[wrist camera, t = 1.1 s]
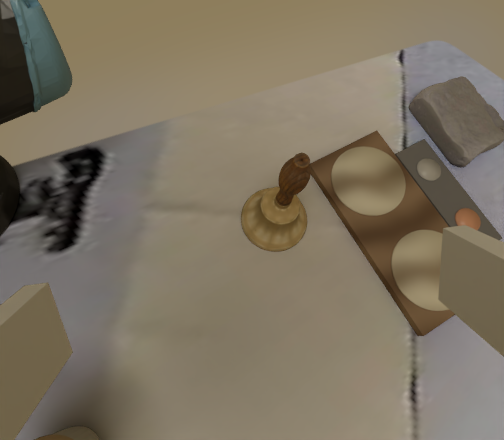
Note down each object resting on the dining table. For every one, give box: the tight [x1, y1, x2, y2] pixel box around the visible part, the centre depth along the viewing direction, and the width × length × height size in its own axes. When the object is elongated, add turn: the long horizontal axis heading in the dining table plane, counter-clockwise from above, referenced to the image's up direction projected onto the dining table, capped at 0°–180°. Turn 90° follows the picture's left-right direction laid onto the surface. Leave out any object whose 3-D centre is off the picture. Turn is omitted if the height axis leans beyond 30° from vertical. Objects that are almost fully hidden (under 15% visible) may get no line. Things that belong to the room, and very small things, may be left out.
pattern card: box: [395, 139, 502, 240], centre depth 42 cm, size 16×5×1 cm, turn 29°
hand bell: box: [241, 153, 311, 252], centre depth 33 cm, size 8×8×16 cm
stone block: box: [409, 77, 504, 167], centre depth 45 cm, size 12×5×10 cm
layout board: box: [310, 131, 455, 336], centre depth 40 cm, size 24×11×2 cm, turn 29°
